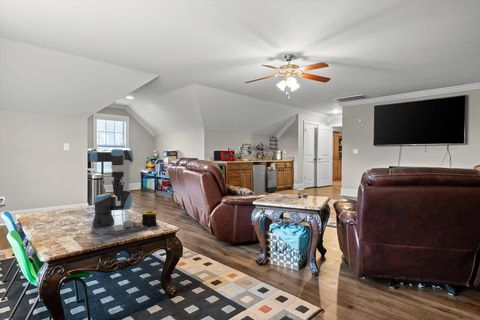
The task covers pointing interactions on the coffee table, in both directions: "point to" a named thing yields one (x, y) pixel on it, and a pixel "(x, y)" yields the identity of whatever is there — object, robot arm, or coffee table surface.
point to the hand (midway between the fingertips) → (118, 205)
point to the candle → (149, 218)
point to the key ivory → (118, 227)
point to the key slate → (128, 224)
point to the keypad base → (127, 230)
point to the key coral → (137, 223)
